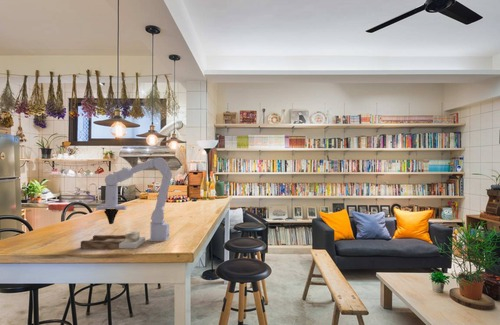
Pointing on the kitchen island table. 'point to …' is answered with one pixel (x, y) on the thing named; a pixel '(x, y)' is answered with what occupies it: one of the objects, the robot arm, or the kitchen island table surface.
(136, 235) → the cube
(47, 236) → the kitchen island table surface
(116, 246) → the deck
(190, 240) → the kitchen island table surface
